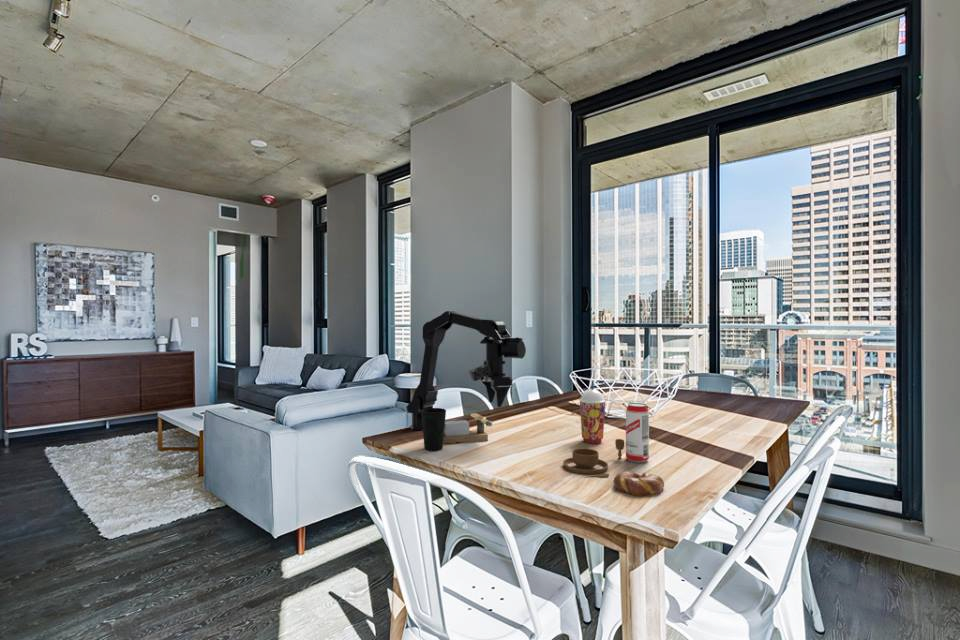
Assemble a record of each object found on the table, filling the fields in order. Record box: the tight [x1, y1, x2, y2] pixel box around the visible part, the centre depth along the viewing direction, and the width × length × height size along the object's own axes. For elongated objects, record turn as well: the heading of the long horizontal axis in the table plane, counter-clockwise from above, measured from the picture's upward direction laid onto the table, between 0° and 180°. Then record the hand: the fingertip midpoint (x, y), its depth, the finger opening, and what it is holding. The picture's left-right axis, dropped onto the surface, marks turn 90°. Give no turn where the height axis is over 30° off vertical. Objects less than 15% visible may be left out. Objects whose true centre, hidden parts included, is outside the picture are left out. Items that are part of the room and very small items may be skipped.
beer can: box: [625, 402, 650, 464], centre depth 136 cm, size 6×6×16 cm
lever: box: [470, 413, 493, 427], centre depth 160 cm, size 4×16×1 cm, turn 19°
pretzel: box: [613, 470, 665, 497], centre depth 114 cm, size 12×11×4 cm
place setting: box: [562, 438, 625, 479], centre depth 130 cm, size 18×20×6 cm
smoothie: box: [579, 380, 607, 444], centre depth 157 cm, size 8×8×20 cm
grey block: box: [444, 419, 470, 437], centre depth 158 cm, size 4×8×4 cm, turn 106°
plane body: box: [443, 420, 489, 445], centre depth 158 cm, size 7×17×6 cm, turn 106°
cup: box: [421, 407, 447, 452], centre depth 148 cm, size 8×8×12 cm
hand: (494, 404), depth 158 cm, fingers open, 9 cm apart
